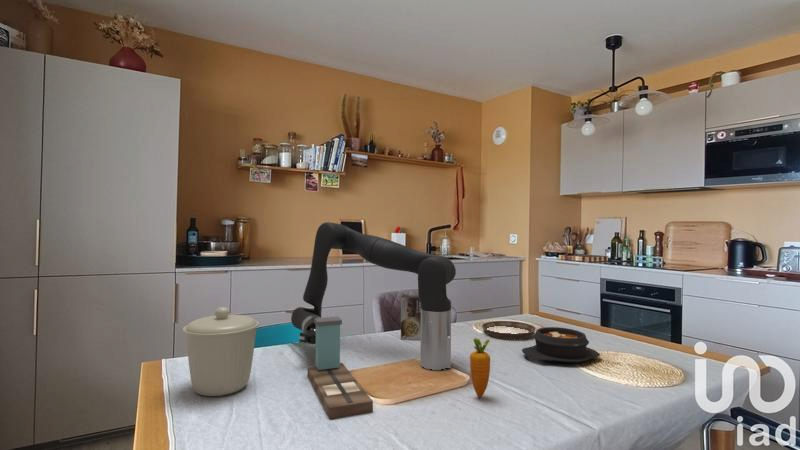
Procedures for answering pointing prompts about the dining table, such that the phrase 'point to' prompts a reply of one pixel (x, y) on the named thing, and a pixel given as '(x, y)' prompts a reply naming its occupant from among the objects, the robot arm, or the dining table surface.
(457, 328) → the dining table surface
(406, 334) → the coffee box
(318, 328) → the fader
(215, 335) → the canister
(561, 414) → the dining table surface
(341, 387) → the grooved wooden base
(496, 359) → the dining table surface
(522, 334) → the plant saucer
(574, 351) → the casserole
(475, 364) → the carrot
